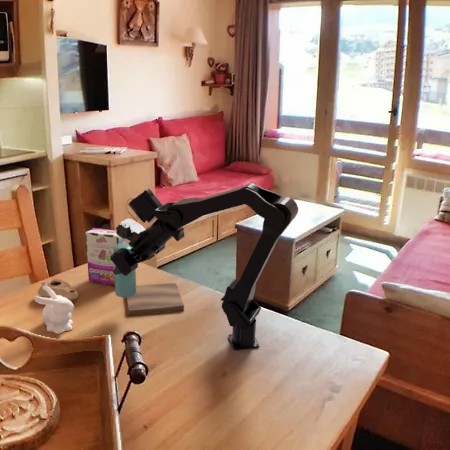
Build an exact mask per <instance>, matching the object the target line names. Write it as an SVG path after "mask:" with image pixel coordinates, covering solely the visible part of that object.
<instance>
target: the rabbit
mask: <svg viewBox="0 0 450 450" xmlns="http://www.w3.org/2000/svg"><path fill="white" fill-rule="evenodd" d="M42 288H43V290H45V291H47V293H48V294H49V295H50V296H51V298H45V297H42V296H38V295H33V299H34V301H35V302H36V303H38V304H40V305H45V306H44V307H43V308H42V311H41V312H42V313H41V318H42V321H43V322H44V324H45V325H46V331H47V332H53V333H54V334H55V335H59V334H62V333H63V332H69V331H72V330H73V324H74V322H73V320H72V315H73V310H74V308H75V307H74V304H73V302H72V300H68V299H67V298H65V297H62V296H60V295H56V294H55V293H54V291H53V290H52V289H51V288H49V287H48V286H46V285H45V286H43V287H42Z"/></svg>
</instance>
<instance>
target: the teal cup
mask: <svg viewBox="0 0 450 450" xmlns="http://www.w3.org/2000/svg"><path fill="white" fill-rule="evenodd" d="M121 248H126V249H127V250H128V251H129V252H130V253H131V254H132V252H131V251H130V249H131V248H133V247H131V246H130V245H129V244H128V243H126V244H118V245H115V246H114V247H113V253H114V252H116V251H118V250H119V249H121ZM134 258H135V257H134ZM115 267H116V265H115V264H114V268H115ZM136 270H137V268H136V269H135V270H134V271H133V272H131V273H130V274H129V275H127V276H125V275H123V274H118V275H115V274H114V276H115V286H114V291H115V295H116V296H117V297H119V298H127V297H131V296H133V295H135V294H136V286H137V274H136Z"/></svg>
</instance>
